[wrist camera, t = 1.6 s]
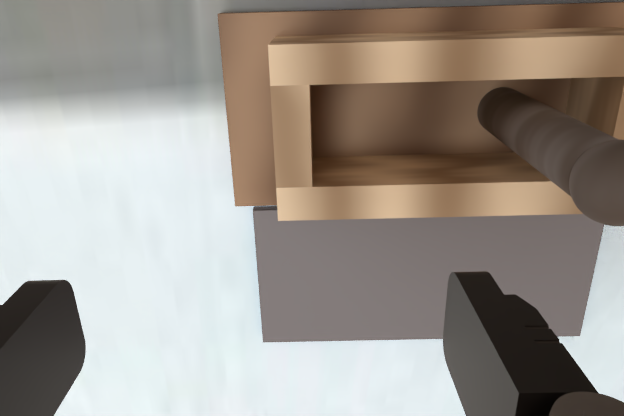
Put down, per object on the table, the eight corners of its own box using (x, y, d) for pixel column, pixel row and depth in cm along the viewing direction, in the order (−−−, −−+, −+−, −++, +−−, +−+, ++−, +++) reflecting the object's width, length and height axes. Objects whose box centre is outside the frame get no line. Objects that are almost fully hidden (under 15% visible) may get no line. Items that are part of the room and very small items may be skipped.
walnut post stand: (664, 0, 27) (998, 7, 14) (621, 191, 32) (846, 335, 18) (220, 13, 28) (134, 31, 14) (237, 200, 32) (183, 348, 19)
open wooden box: (613, 27, 27) (675, 33, 22) (584, 179, 30) (632, 212, 26) (275, 36, 27) (267, 44, 23) (283, 186, 31) (277, 220, 26)
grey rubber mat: (603, 198, 32) (608, 202, 31) (575, 330, 36) (579, 335, 35) (254, 207, 32) (252, 210, 32) (263, 336, 36) (263, 342, 36)
